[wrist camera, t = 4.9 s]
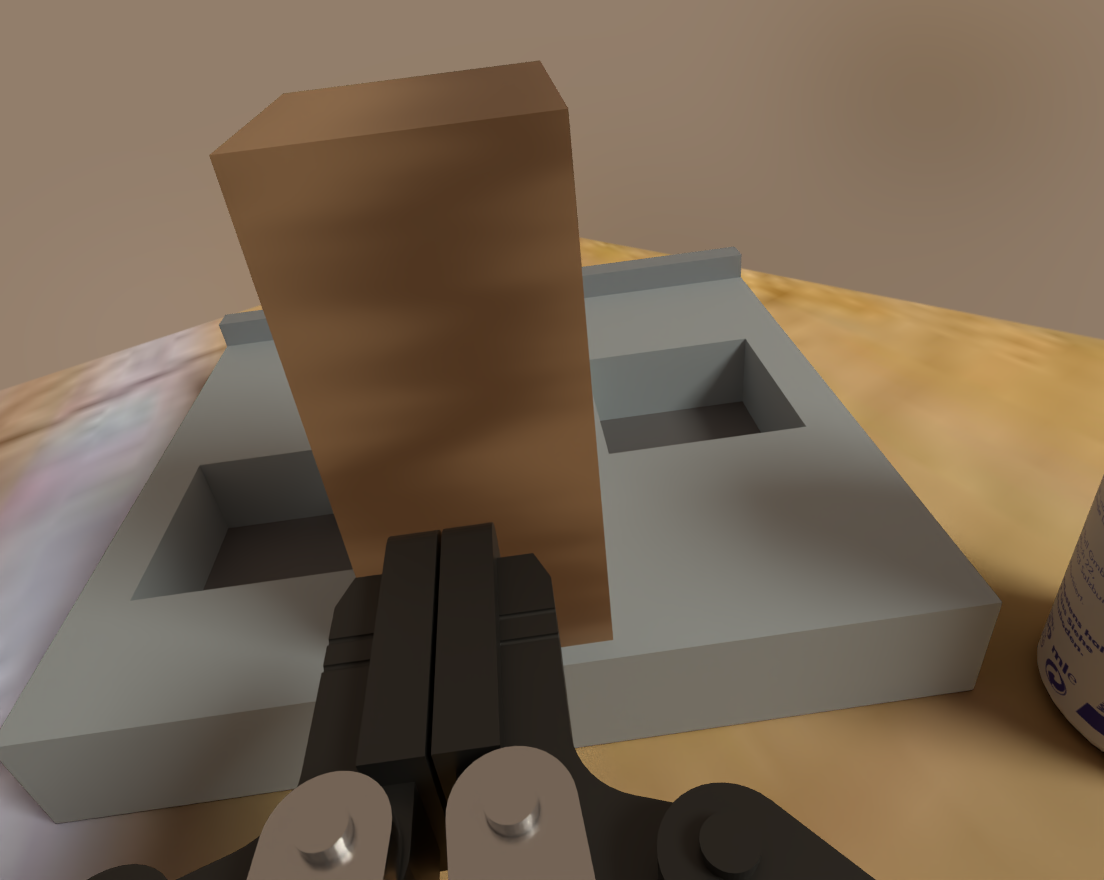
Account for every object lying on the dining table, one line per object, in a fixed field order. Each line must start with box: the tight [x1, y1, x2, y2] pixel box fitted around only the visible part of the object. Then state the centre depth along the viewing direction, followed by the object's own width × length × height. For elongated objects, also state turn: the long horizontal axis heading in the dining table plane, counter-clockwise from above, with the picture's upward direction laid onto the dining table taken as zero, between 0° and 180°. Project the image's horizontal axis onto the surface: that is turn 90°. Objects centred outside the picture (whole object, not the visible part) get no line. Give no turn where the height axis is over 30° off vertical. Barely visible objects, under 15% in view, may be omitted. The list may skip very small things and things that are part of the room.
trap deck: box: [0, 247, 1002, 824], centre depth 25 cm, size 22×20×4 cm
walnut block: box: [210, 61, 613, 647], centre depth 16 cm, size 5×5×11 cm
